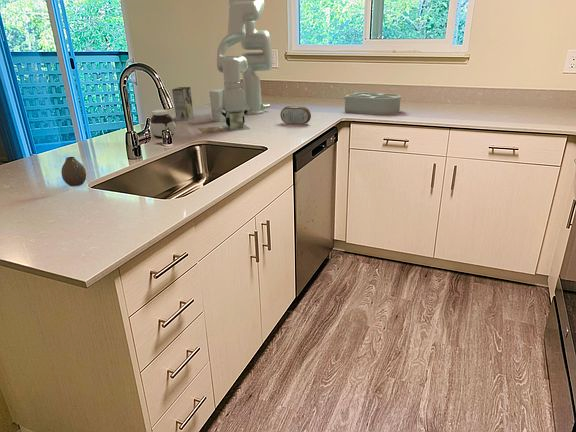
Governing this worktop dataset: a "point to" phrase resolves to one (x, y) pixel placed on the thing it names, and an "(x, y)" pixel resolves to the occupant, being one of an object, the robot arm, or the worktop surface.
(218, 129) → the pad
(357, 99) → the compartment organizer box
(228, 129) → the plate
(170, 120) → the spread jar
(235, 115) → the sage block
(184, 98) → the coffee box
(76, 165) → the vase
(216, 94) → the skincare box
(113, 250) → the worktop surface
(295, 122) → the tin
